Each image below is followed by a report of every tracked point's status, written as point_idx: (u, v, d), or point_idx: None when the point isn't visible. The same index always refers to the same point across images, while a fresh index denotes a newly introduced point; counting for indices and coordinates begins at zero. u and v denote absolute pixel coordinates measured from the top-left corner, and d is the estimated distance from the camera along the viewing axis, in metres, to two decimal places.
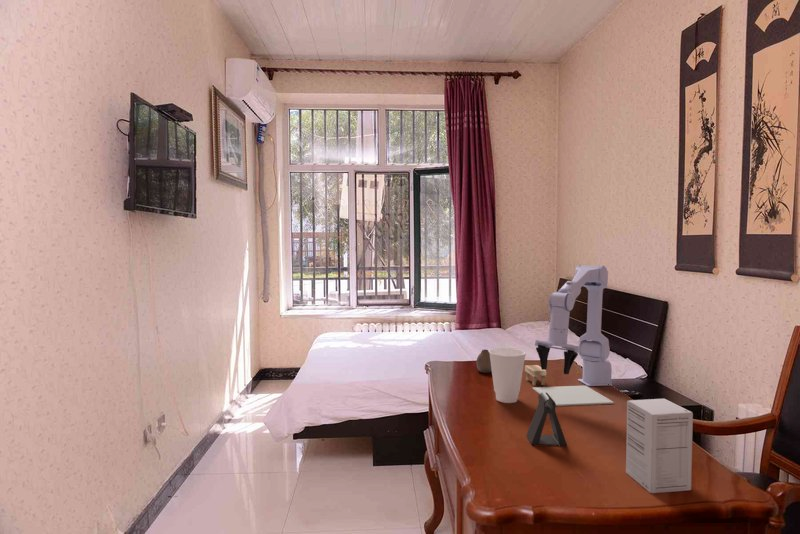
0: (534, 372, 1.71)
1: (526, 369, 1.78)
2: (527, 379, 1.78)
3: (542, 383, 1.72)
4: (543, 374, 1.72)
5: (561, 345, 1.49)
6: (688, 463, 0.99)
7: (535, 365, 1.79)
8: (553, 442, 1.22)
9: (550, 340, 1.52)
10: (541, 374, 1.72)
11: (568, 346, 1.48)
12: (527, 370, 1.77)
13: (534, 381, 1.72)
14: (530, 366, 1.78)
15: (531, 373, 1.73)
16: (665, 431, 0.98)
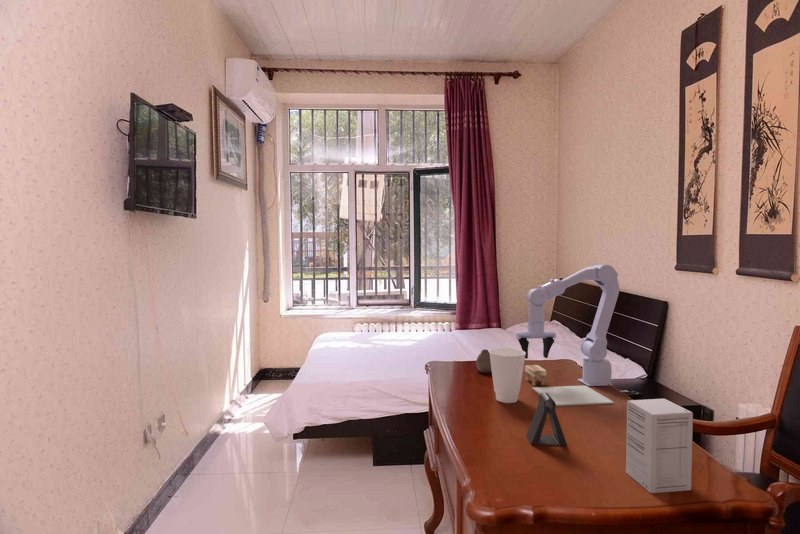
0: (534, 372, 1.71)
1: (526, 369, 1.78)
2: (527, 379, 1.78)
3: (542, 383, 1.72)
4: (543, 374, 1.72)
5: None
6: (688, 463, 0.99)
7: (535, 365, 1.79)
8: (553, 442, 1.22)
9: None
10: (541, 374, 1.72)
11: None
12: (527, 370, 1.77)
13: (534, 381, 1.72)
14: (530, 366, 1.78)
15: (531, 373, 1.73)
16: (665, 431, 0.98)
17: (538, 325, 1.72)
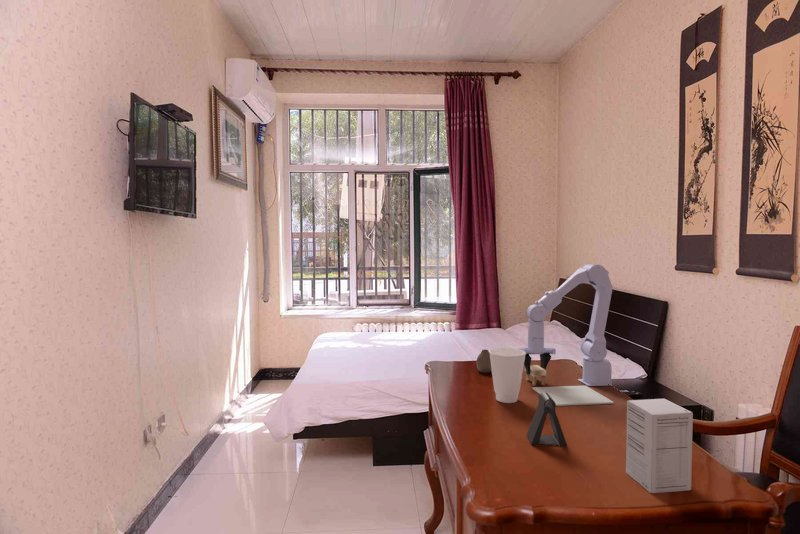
0: (534, 372, 1.71)
1: None
2: (527, 379, 1.78)
3: (542, 383, 1.72)
4: (543, 374, 1.72)
5: None
6: (688, 463, 0.99)
7: (535, 365, 1.79)
8: (553, 442, 1.22)
9: None
10: (541, 374, 1.72)
11: None
12: None
13: (534, 381, 1.72)
14: (530, 366, 1.78)
15: (531, 373, 1.73)
16: (665, 431, 0.98)
17: (538, 341, 1.72)
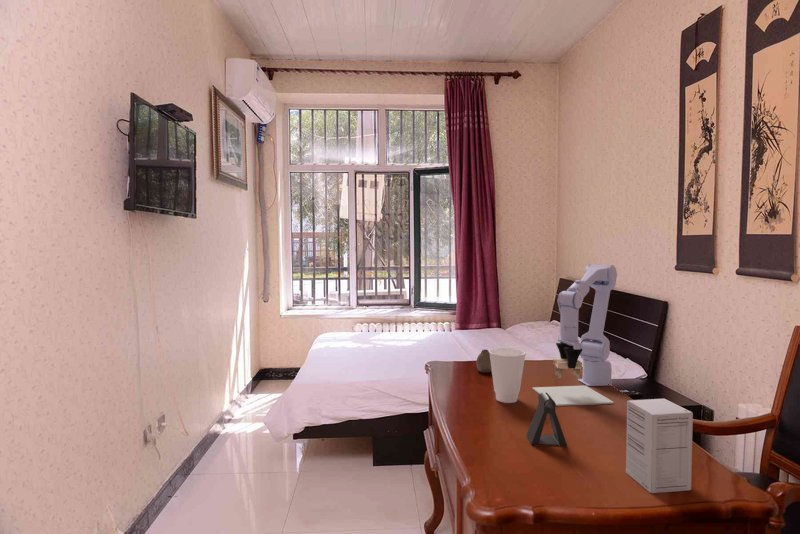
0: None
1: (562, 365, 1.59)
2: None
3: (576, 373, 1.63)
4: None
5: (565, 342, 1.58)
6: (688, 463, 0.99)
7: (556, 359, 1.63)
8: (553, 442, 1.22)
9: (560, 336, 1.62)
10: None
11: (569, 343, 1.56)
12: (565, 366, 1.59)
13: None
14: (561, 361, 1.60)
15: (577, 366, 1.59)
16: (665, 431, 0.98)
17: None
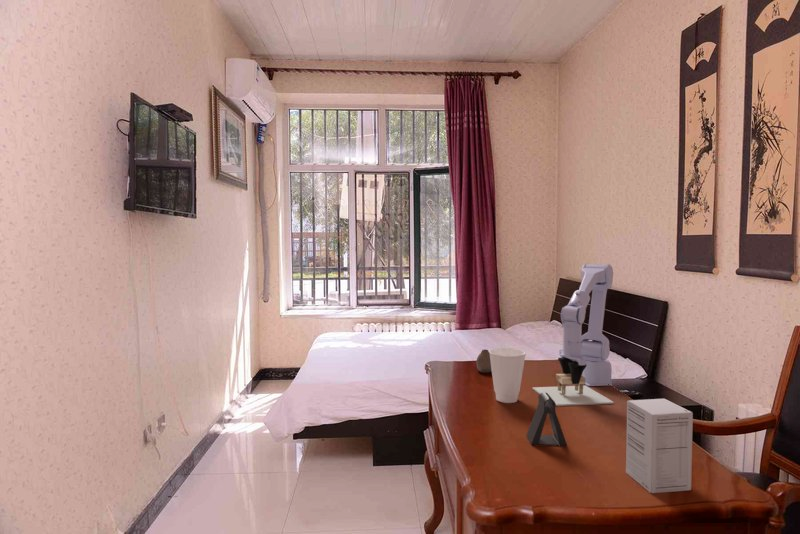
0: None
1: (566, 381, 1.58)
2: (565, 392, 1.58)
3: (578, 388, 1.62)
4: None
5: (569, 357, 1.57)
6: (688, 463, 0.99)
7: (558, 374, 1.61)
8: (553, 442, 1.22)
9: (563, 351, 1.61)
10: None
11: (573, 358, 1.55)
12: (569, 381, 1.58)
13: None
14: (565, 376, 1.59)
15: (580, 381, 1.58)
16: (665, 431, 0.98)
17: None
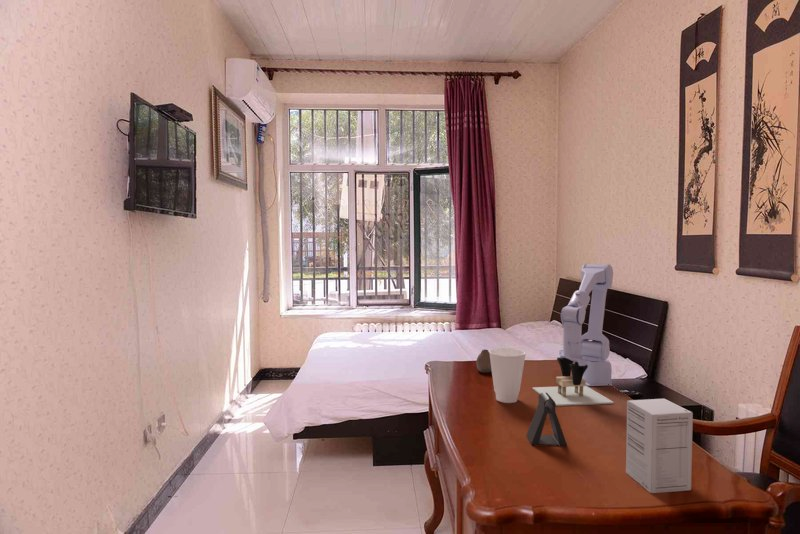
0: None
1: (567, 384, 1.58)
2: (565, 395, 1.58)
3: None
4: None
5: (569, 358, 1.57)
6: (688, 463, 0.99)
7: (558, 377, 1.61)
8: (553, 442, 1.22)
9: (563, 352, 1.61)
10: None
11: (573, 359, 1.55)
12: (569, 384, 1.58)
13: None
14: (565, 379, 1.59)
15: (580, 384, 1.58)
16: (665, 431, 0.98)
17: None
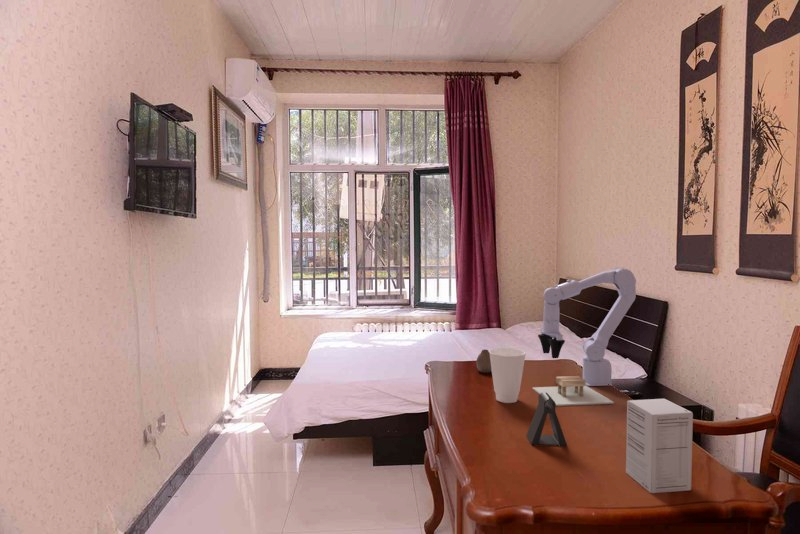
0: None
1: (567, 384, 1.58)
2: (565, 395, 1.58)
3: None
4: None
5: (548, 333, 1.75)
6: (688, 463, 0.99)
7: (558, 377, 1.61)
8: (553, 442, 1.22)
9: (543, 329, 1.79)
10: None
11: (552, 334, 1.73)
12: (569, 384, 1.58)
13: None
14: (565, 379, 1.59)
15: (580, 384, 1.58)
16: (665, 431, 0.98)
17: None
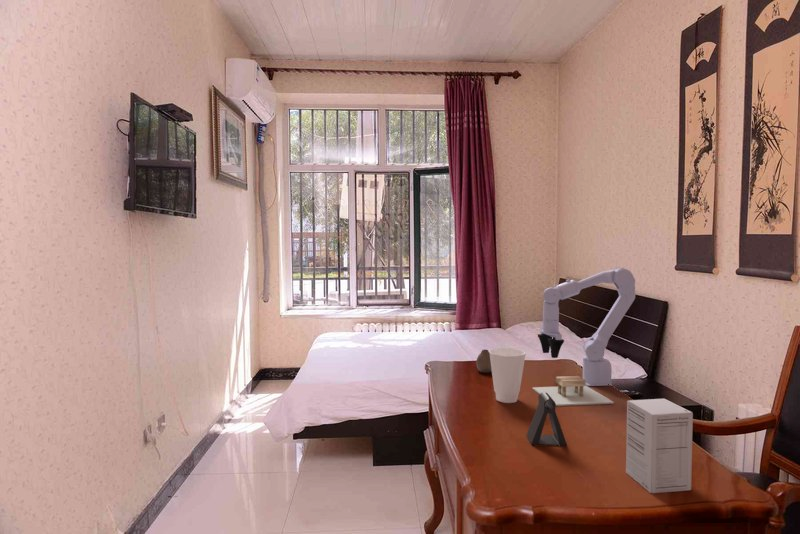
0: None
1: (567, 384, 1.58)
2: (565, 395, 1.58)
3: None
4: None
5: (547, 333, 1.76)
6: (688, 463, 0.99)
7: (558, 377, 1.61)
8: (553, 442, 1.22)
9: (542, 329, 1.79)
10: None
11: (551, 334, 1.74)
12: (569, 384, 1.58)
13: None
14: (565, 379, 1.59)
15: (580, 384, 1.58)
16: (665, 431, 0.98)
17: None
